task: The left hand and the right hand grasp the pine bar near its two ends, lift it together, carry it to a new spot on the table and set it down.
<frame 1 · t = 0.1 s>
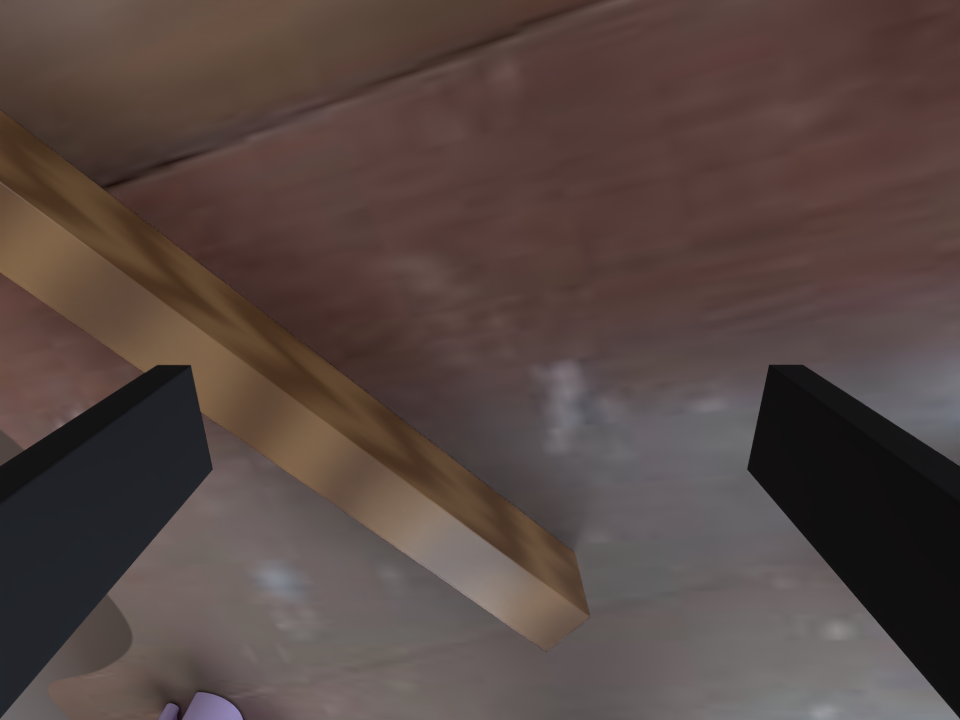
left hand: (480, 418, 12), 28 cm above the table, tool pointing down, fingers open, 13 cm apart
bar: (287, 367, 42), on the table
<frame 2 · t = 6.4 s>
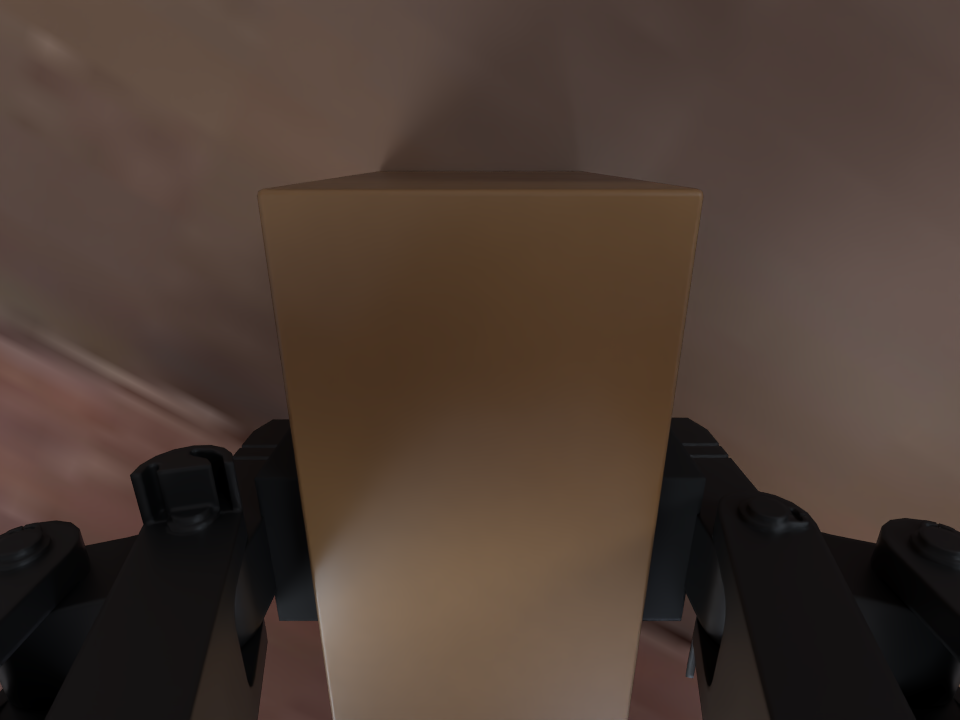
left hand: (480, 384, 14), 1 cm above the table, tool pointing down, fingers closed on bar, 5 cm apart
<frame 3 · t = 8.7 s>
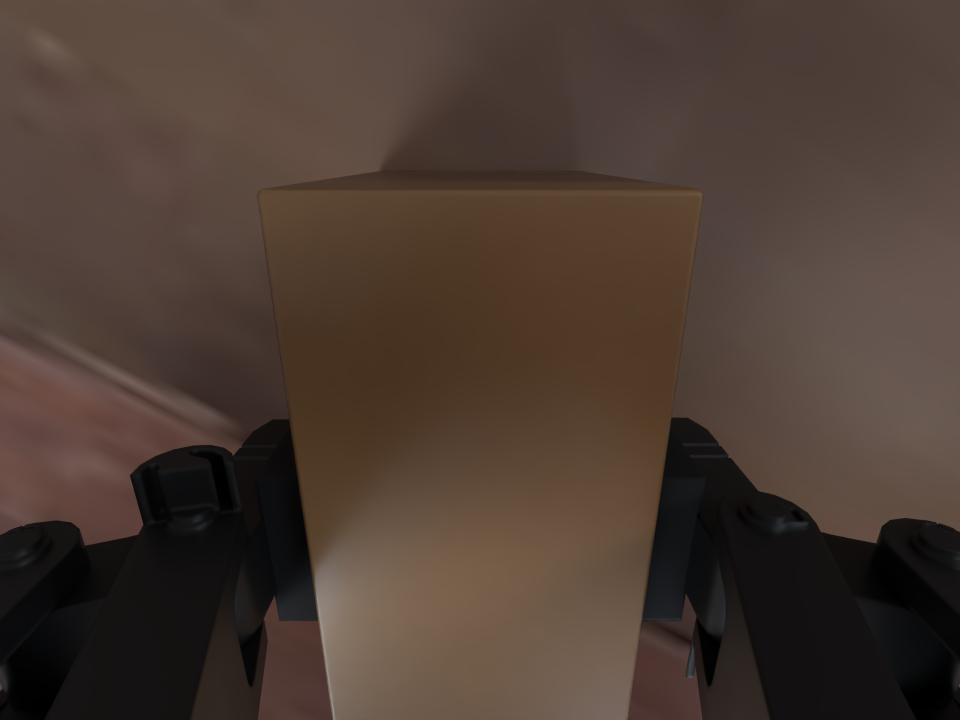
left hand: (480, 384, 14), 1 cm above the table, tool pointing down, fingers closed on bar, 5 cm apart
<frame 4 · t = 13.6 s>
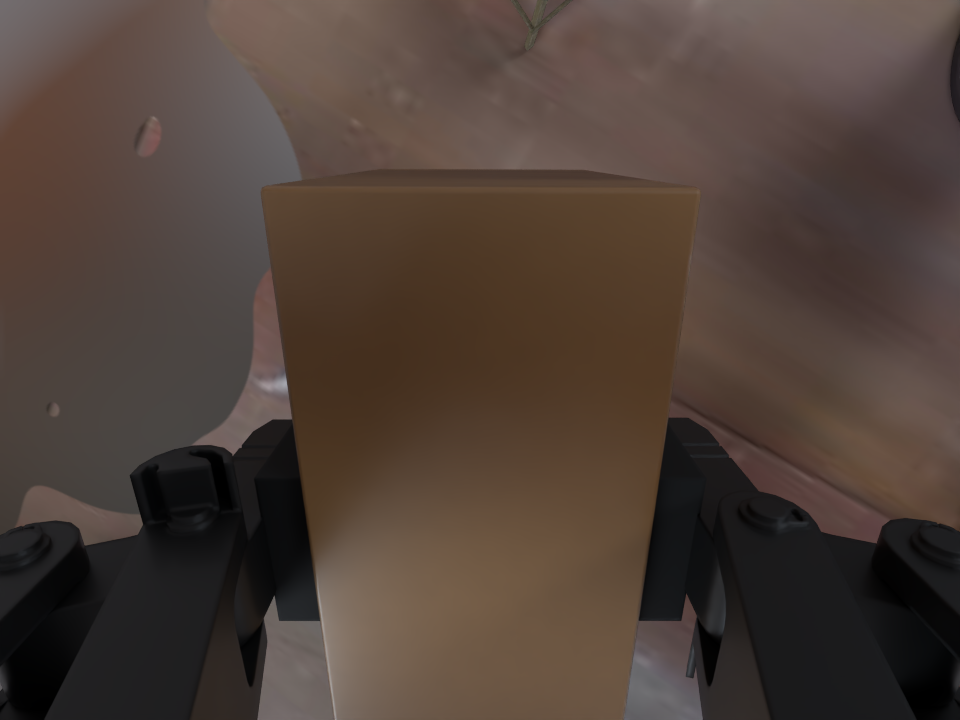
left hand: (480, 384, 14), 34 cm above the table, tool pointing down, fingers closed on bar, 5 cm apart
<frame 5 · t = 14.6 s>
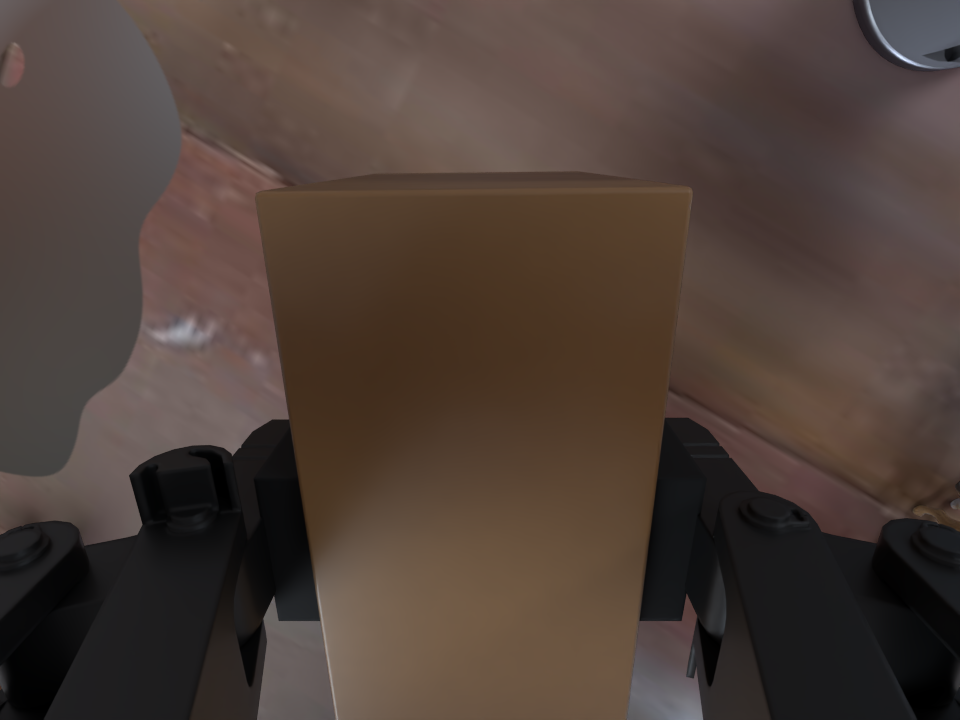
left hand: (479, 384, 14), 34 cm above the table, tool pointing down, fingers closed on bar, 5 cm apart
lion figurine: (909, 534, 59), on the table
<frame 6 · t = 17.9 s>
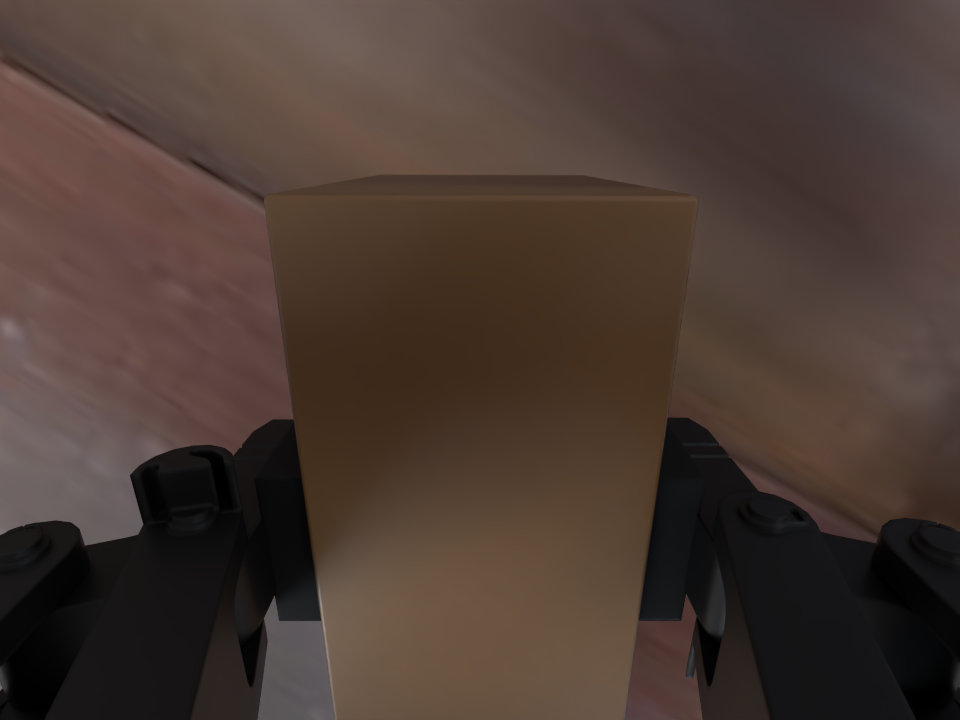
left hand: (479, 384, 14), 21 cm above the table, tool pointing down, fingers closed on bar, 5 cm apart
when the left hand's fingers open (2 cm above the table, at t = 20.6 s): bar drops 2 cm, on the table.
when the right hand's fingers open (5 cm above the table, at t = 20.8 s): bar stays where it is, on the table.
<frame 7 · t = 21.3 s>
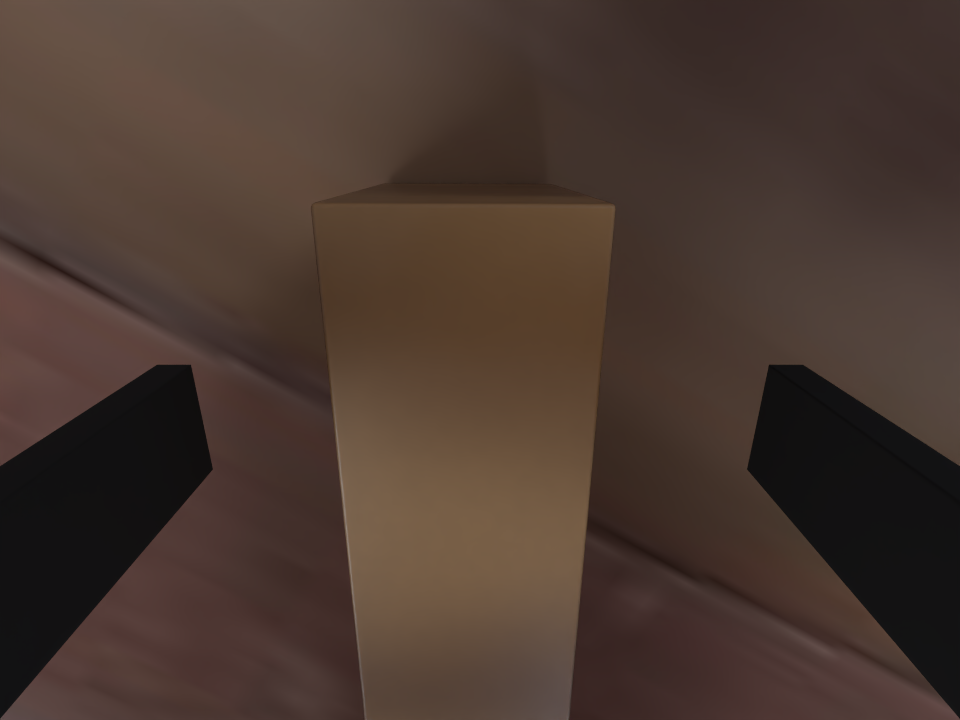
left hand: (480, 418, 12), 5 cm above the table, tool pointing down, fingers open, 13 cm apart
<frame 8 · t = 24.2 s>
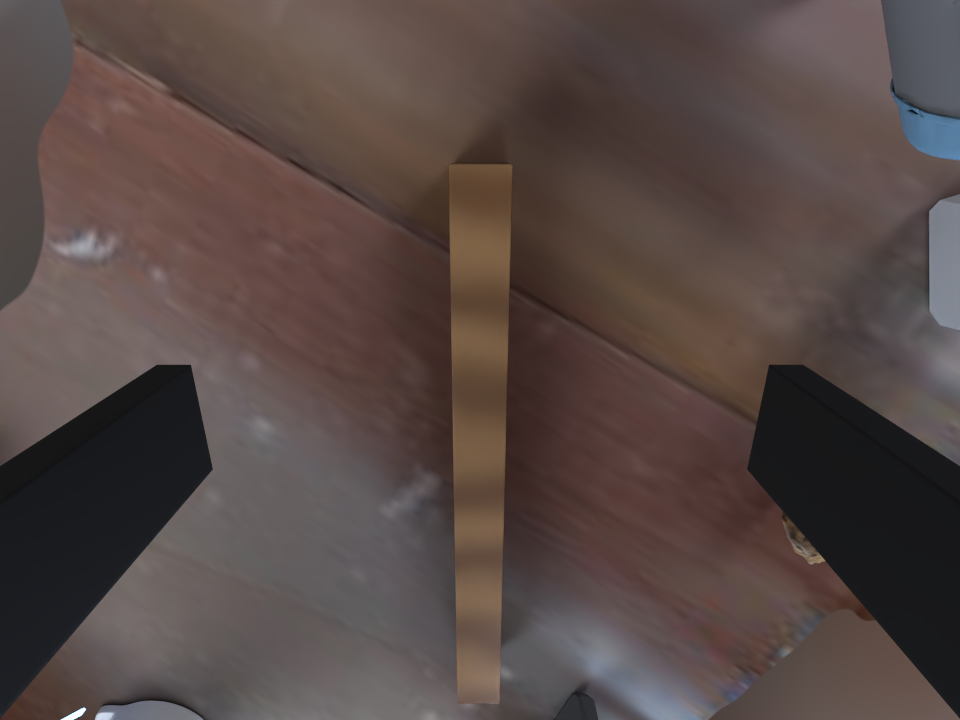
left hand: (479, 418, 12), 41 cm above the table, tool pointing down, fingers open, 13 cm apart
lion figurine: (802, 467, 60), on the table
bar: (479, 450, 59), on the table
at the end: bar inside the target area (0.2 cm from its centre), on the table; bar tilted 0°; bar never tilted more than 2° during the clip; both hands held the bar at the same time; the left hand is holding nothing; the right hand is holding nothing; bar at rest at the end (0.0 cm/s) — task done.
